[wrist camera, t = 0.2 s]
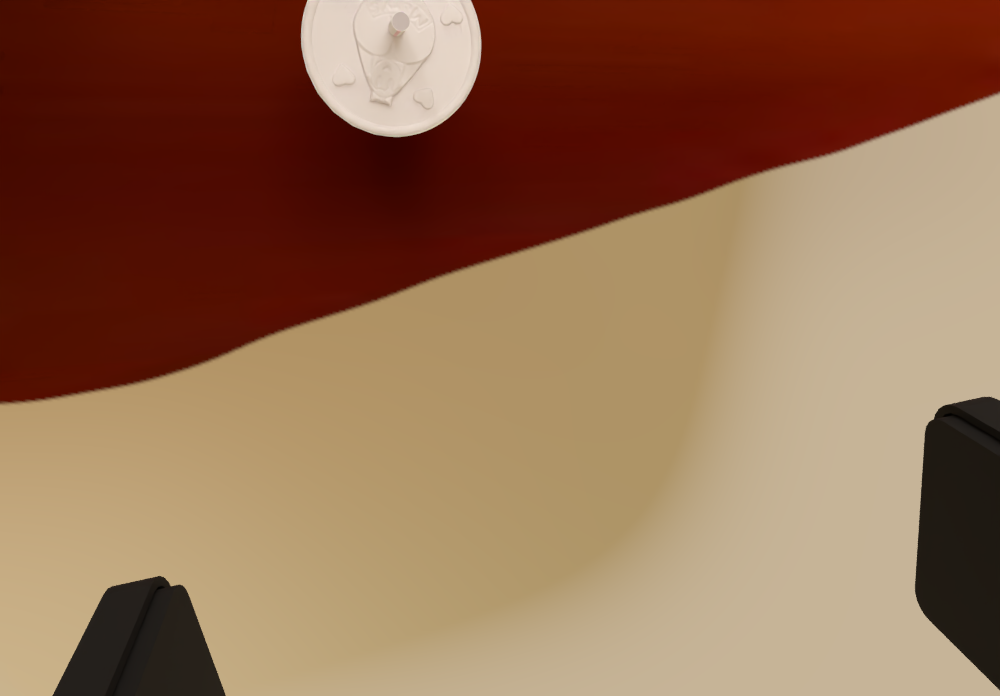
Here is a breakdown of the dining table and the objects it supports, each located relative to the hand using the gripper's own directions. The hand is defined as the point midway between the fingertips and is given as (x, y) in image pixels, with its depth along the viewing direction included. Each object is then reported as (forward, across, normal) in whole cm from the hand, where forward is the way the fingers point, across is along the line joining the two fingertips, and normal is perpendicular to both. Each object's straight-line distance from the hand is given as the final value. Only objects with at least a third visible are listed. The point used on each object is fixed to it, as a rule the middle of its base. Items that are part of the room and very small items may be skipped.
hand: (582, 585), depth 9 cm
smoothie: (+31, 0, -7) cm, 32 cm away
